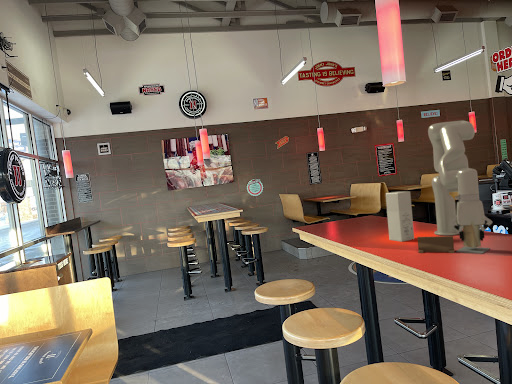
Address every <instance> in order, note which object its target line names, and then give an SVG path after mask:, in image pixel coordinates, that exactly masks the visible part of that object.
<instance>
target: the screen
mask: <svg viewBox="0 0 512 384" xmlns="http://www.w3.org/2000/svg"><path fill="white" fill-rule="evenodd" d="M454 243H455V242H454V235H437V236H417V247H418V249H417V250H418V254H423V253H449V254H452V253H453V254H455V244H454Z"/></svg>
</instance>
